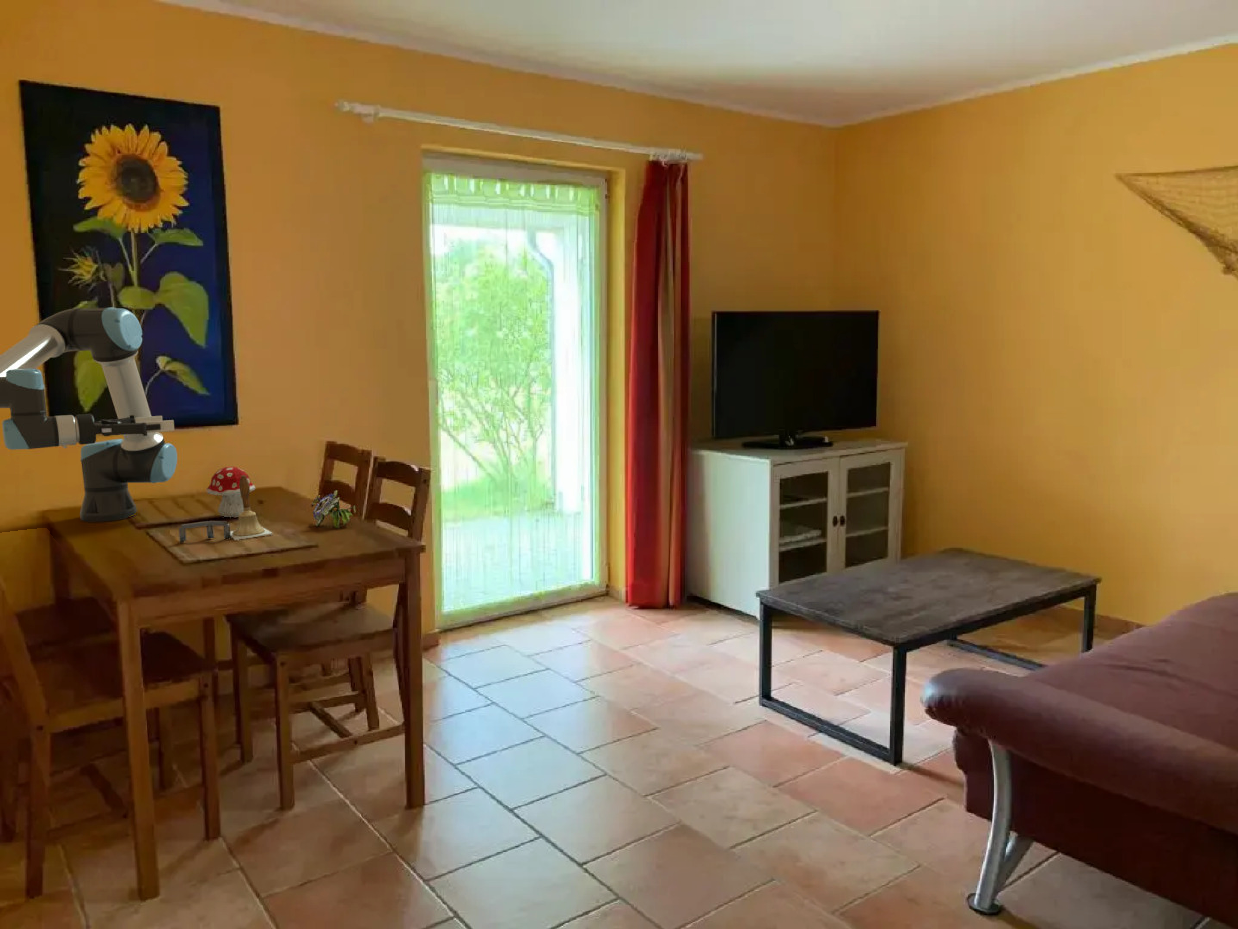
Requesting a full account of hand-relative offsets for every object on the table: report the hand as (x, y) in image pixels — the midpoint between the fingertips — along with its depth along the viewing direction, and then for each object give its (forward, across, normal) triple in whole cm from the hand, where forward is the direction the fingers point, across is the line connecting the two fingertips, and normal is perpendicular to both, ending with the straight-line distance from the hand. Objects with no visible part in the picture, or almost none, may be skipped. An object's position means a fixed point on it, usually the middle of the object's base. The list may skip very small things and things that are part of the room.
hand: (168, 423), depth 252 cm
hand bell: (+17, +4, -32) cm, 36 cm away
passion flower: (+40, +7, -32) cm, 52 cm away
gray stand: (+6, +4, -32) cm, 33 cm away
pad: (+17, +4, -32) cm, 37 cm away
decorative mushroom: (+21, -25, -32) cm, 46 cm away
